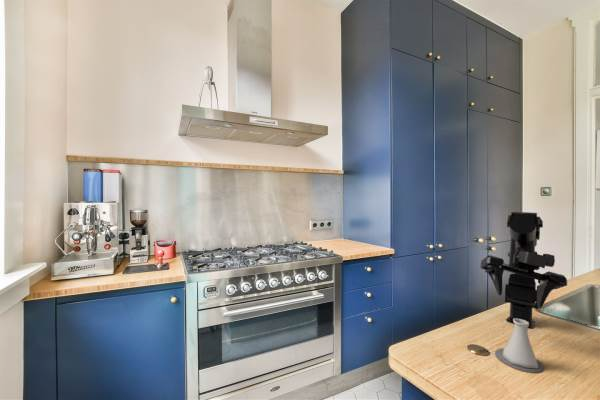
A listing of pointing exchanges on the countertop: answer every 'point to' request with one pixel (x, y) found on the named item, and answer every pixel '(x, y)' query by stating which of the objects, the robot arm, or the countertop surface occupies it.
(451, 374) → the countertop surface
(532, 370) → the rubber mat
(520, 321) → the flask
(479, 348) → the bronze token
